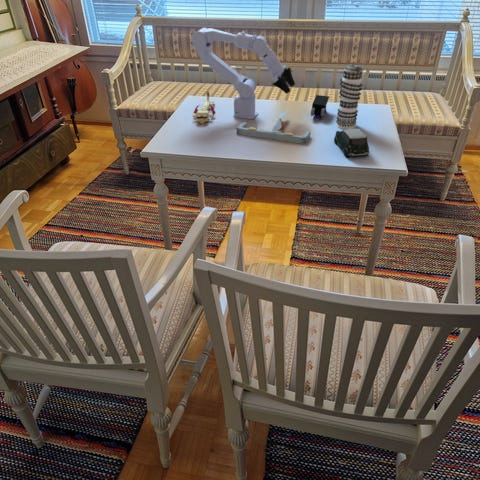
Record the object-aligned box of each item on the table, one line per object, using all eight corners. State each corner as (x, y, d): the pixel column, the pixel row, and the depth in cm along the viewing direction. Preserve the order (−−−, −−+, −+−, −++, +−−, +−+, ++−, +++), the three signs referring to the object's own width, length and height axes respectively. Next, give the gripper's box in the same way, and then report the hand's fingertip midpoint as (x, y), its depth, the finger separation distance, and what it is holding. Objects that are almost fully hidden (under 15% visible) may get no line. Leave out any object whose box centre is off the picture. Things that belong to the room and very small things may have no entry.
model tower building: (331, 123, 188) (337, 64, 173) (349, 120, 190) (357, 62, 175) (341, 130, 181) (349, 69, 166) (360, 127, 183) (369, 67, 168)
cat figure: (199, 109, 210) (190, 123, 188) (198, 90, 205) (189, 103, 184) (219, 109, 209) (212, 123, 188) (218, 90, 204) (211, 103, 183)
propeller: (267, 138, 175) (267, 128, 173) (282, 117, 194) (282, 108, 192) (277, 139, 174) (277, 129, 172) (291, 118, 193) (291, 109, 191)
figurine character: (324, 124, 190) (328, 110, 201) (325, 108, 185) (330, 94, 196) (309, 123, 192) (314, 108, 202) (310, 107, 187) (315, 93, 197)
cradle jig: (236, 133, 180) (236, 126, 178) (243, 127, 185) (243, 120, 183) (304, 144, 170) (305, 136, 168) (310, 136, 175) (310, 129, 174)
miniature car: (353, 139, 173) (356, 120, 168) (370, 158, 159) (373, 138, 154) (332, 141, 172) (334, 122, 168) (346, 160, 158) (349, 139, 153)
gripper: (274, 63, 173) (293, 90, 178) (284, 51, 183) (302, 77, 188) (261, 73, 178) (280, 99, 182) (272, 60, 188) (290, 86, 192)
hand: (290, 88), depth 185 cm, fingers open, 7 cm apart
